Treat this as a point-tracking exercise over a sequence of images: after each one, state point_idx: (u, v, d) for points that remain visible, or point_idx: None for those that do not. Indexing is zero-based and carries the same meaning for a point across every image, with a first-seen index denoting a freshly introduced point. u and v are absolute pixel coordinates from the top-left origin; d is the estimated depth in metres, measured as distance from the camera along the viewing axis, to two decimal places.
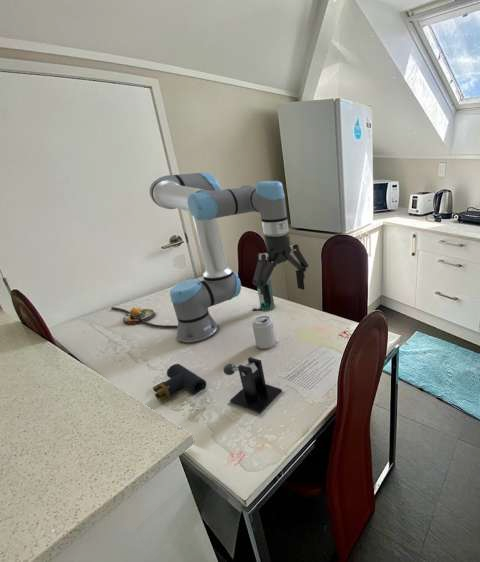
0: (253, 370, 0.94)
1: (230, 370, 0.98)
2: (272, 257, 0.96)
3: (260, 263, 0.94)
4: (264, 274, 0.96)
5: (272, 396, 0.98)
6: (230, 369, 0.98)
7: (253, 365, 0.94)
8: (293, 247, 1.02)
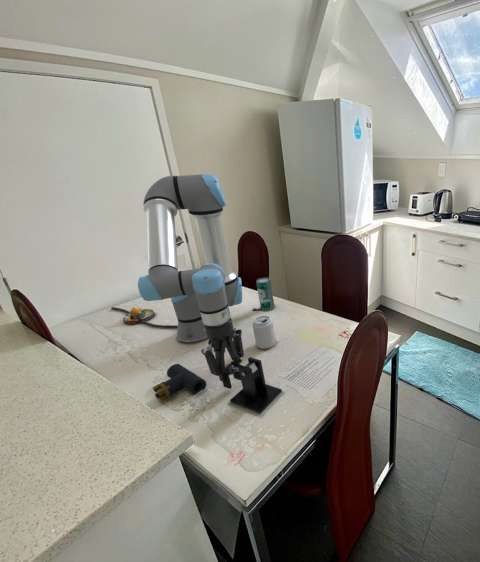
0: (253, 370, 0.94)
1: (230, 370, 0.98)
2: (215, 346, 0.92)
3: (209, 358, 0.91)
4: (218, 363, 0.95)
5: (272, 396, 0.98)
6: (230, 369, 0.98)
7: (253, 365, 0.94)
8: (236, 332, 0.99)
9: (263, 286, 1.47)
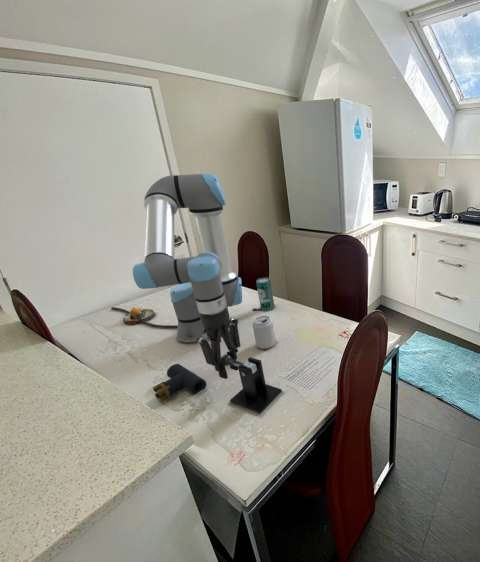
0: (253, 371, 0.94)
1: (227, 362, 0.97)
2: (211, 335, 0.90)
3: (204, 347, 0.90)
4: (214, 353, 0.94)
5: (272, 396, 0.98)
6: (227, 361, 0.97)
7: (254, 366, 0.94)
8: (232, 321, 0.98)
9: (263, 286, 1.47)
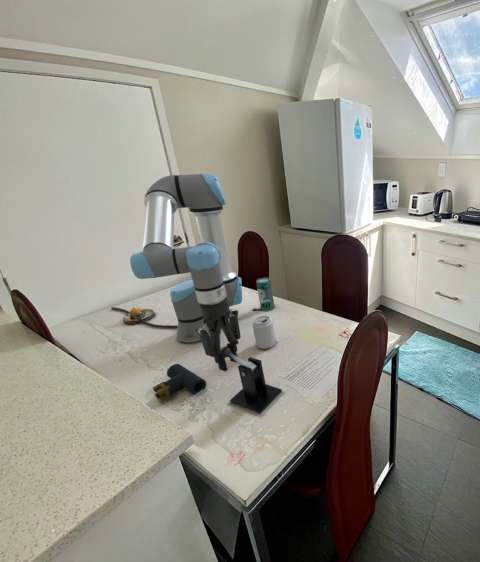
0: (253, 372, 0.94)
1: (227, 355, 0.96)
2: (211, 325, 0.89)
3: (204, 338, 0.88)
4: (213, 344, 0.92)
5: (272, 396, 0.98)
6: (227, 355, 0.96)
7: (255, 368, 0.94)
8: (232, 312, 0.96)
9: (263, 286, 1.47)
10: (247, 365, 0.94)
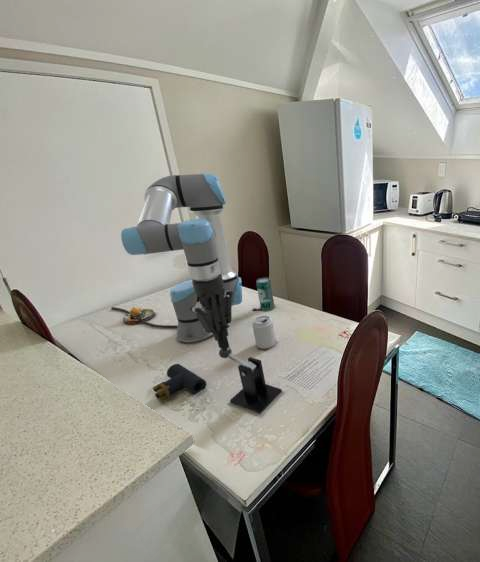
0: (253, 372, 0.94)
1: (227, 355, 0.96)
2: (204, 303, 0.86)
3: (200, 316, 0.86)
4: (212, 322, 0.90)
5: (272, 396, 0.98)
6: (227, 355, 0.96)
7: (255, 368, 0.94)
8: (226, 293, 0.93)
9: (263, 286, 1.47)
10: (247, 365, 0.94)
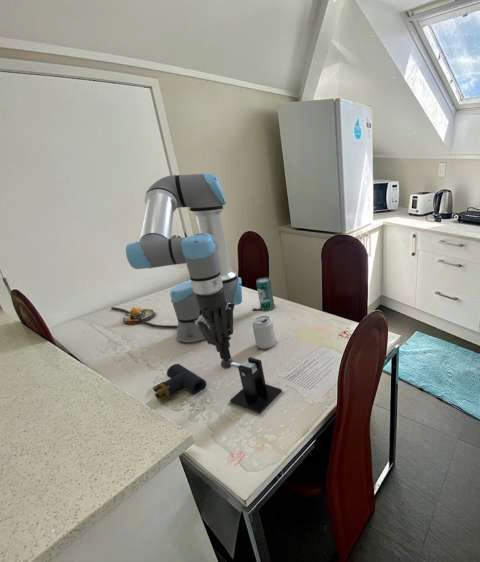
0: (253, 371, 0.94)
1: (228, 364, 0.97)
2: (207, 316, 0.88)
3: (202, 329, 0.88)
4: (214, 334, 0.92)
5: (272, 396, 0.98)
6: (228, 364, 0.97)
7: (254, 366, 0.94)
8: (228, 305, 0.95)
9: (263, 286, 1.47)
10: (246, 365, 0.94)
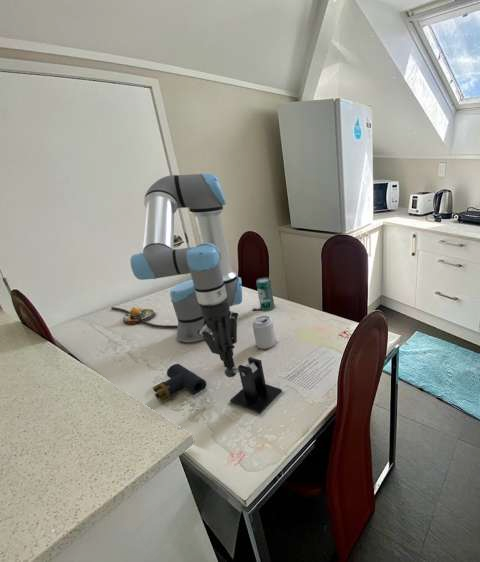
0: (253, 370, 0.94)
1: (231, 372, 0.98)
2: (211, 326, 0.89)
3: (206, 338, 0.89)
4: (218, 343, 0.93)
5: (272, 396, 0.98)
6: (231, 371, 0.98)
7: (253, 365, 0.94)
8: (232, 314, 0.96)
9: (263, 286, 1.47)
10: None
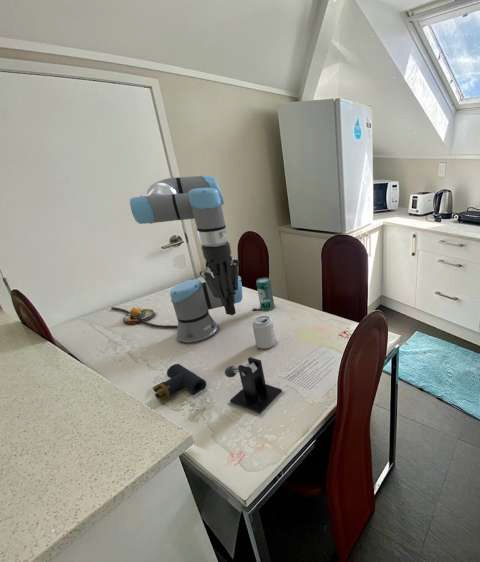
0: (253, 370, 0.94)
1: (231, 372, 0.98)
2: (213, 268, 0.90)
3: (208, 280, 0.90)
4: (219, 287, 0.95)
5: (272, 396, 0.98)
6: (231, 371, 0.98)
7: (253, 365, 0.94)
8: (233, 261, 0.98)
9: (263, 286, 1.47)
10: None
